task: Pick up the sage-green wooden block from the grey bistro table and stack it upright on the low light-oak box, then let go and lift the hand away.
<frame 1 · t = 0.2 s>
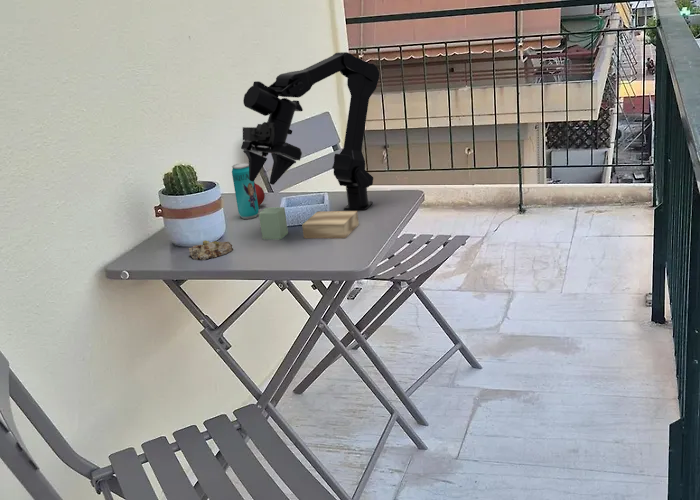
hand: (261, 182, 186), 15 cm above the table, tool tilted 30°, fingers open, 9 cm apart
beverage can: (249, 217, 213), on the table
sage block: (275, 236, 193), on the table
oak box: (332, 232, 192), on the table
mineral rock: (212, 255, 185), on the table
onion: (256, 208, 222), on the table
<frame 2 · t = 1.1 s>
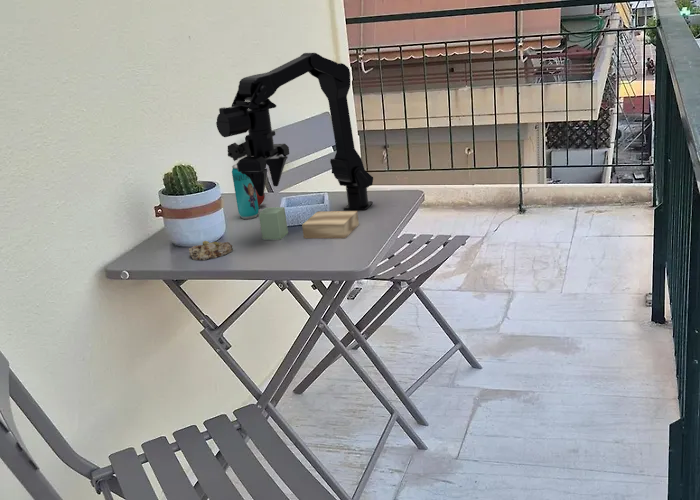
hand: (268, 190, 189), 12 cm above the table, tool pointing down, fingers open, 9 cm apart
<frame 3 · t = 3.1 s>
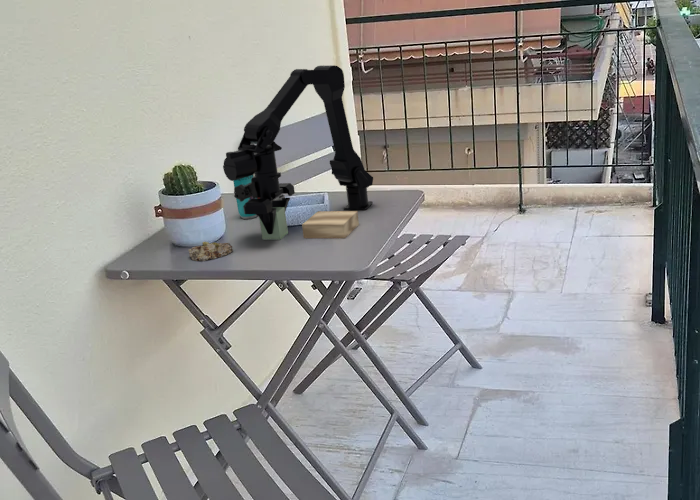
hand: (274, 230, 193), 2 cm above the table, tool pointing down, fingers closed on sage block, 5 cm apart
sage block: (275, 236, 193), on the table, touching gripper
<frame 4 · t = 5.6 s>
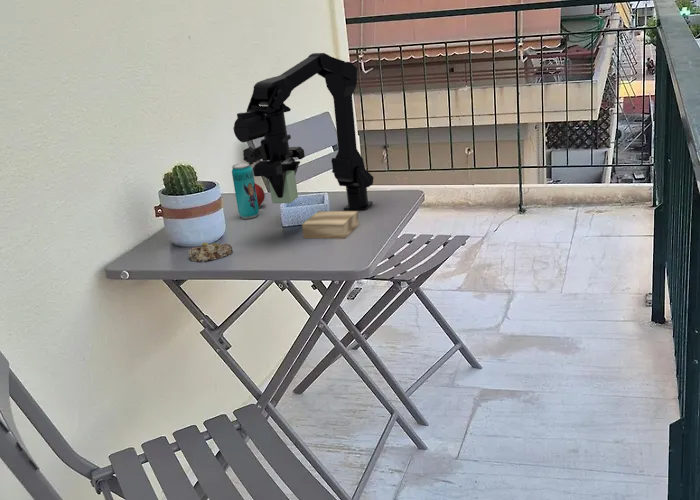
hand: (284, 194, 189), 11 cm above the table, tool pointing down, fingers closed on sage block, 5 cm apart
sage block: (285, 200, 190), point 9 cm above the table, touching gripper
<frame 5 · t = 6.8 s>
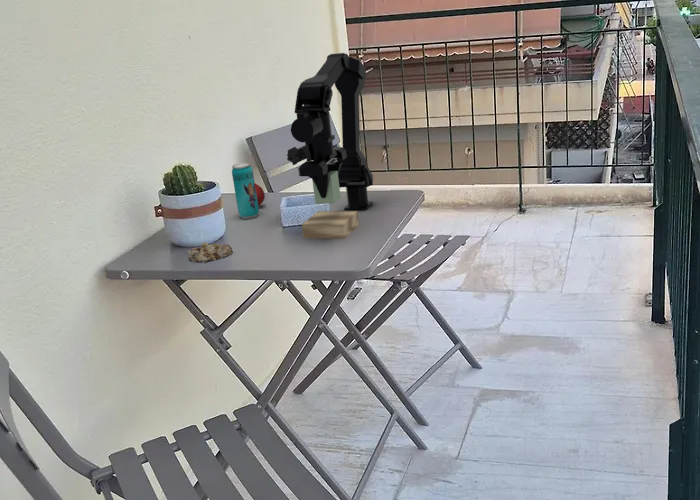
hand: (327, 194, 189), 10 cm above the table, tool pointing down, fingers closed on sage block, 5 cm apart
sage block: (328, 200, 189), point 8 cm above the table, touching gripper
when the fingers open (7 cm above the table, at t = 8.1 s): sage block drops 2 cm, point 4 cm above the table.
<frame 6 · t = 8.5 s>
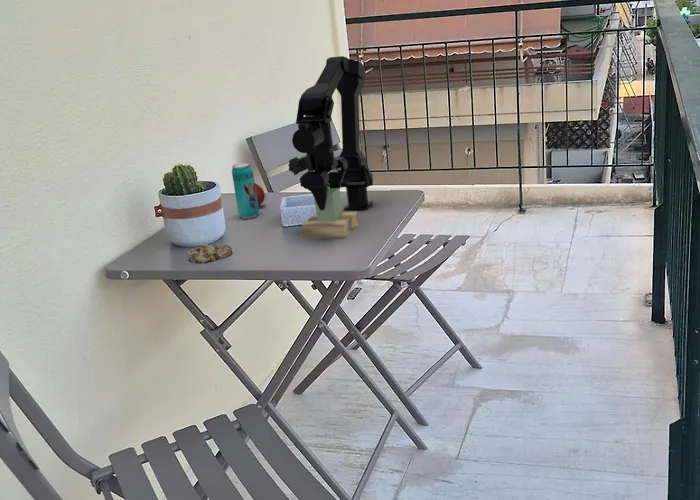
hand: (328, 204, 190), 7 cm above the table, tool pointing down, fingers open, 9 cm apart
sage block: (330, 217, 191), point 4 cm above the table
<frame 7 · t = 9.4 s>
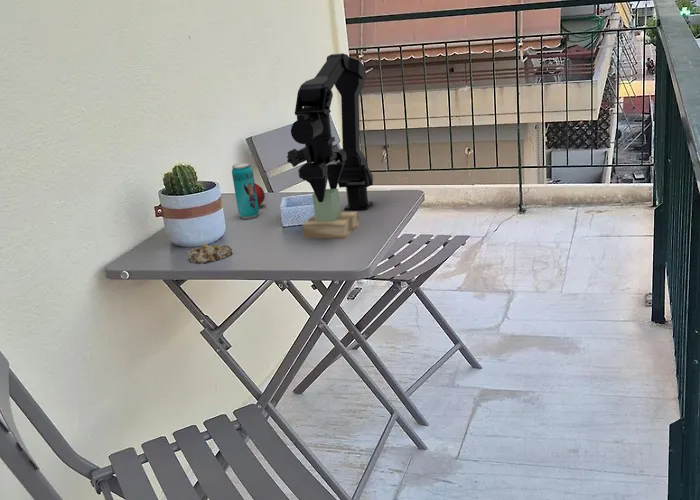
hand: (327, 196, 189), 9 cm above the table, tool pointing down, fingers open, 9 cm apart
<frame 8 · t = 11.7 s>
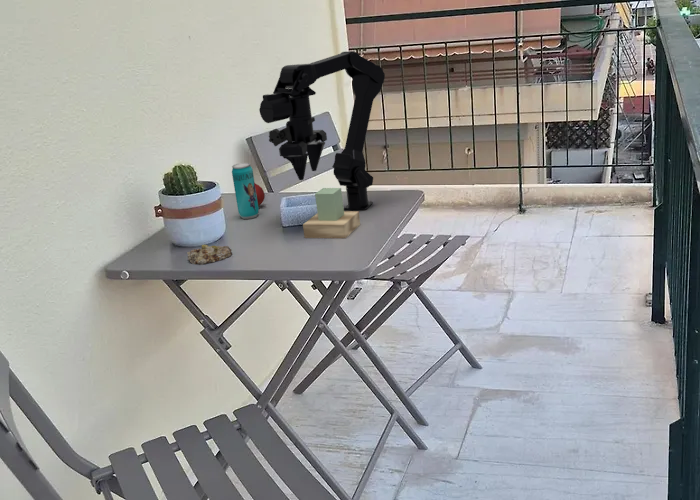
hand: (307, 175, 196), 13 cm above the table, tool pointing down, fingers open, 9 cm apart
sage block: (331, 217, 191), point 4 cm above the table, touching oak box
oak box: (333, 232, 192), on the table, touching sage block
at the end: sage block inside the target area on the oak box (0.3 cm from its centre), point 4.0 cm above the oak box's base; sage block tilted 1°; the gripper is holding nothing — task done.
